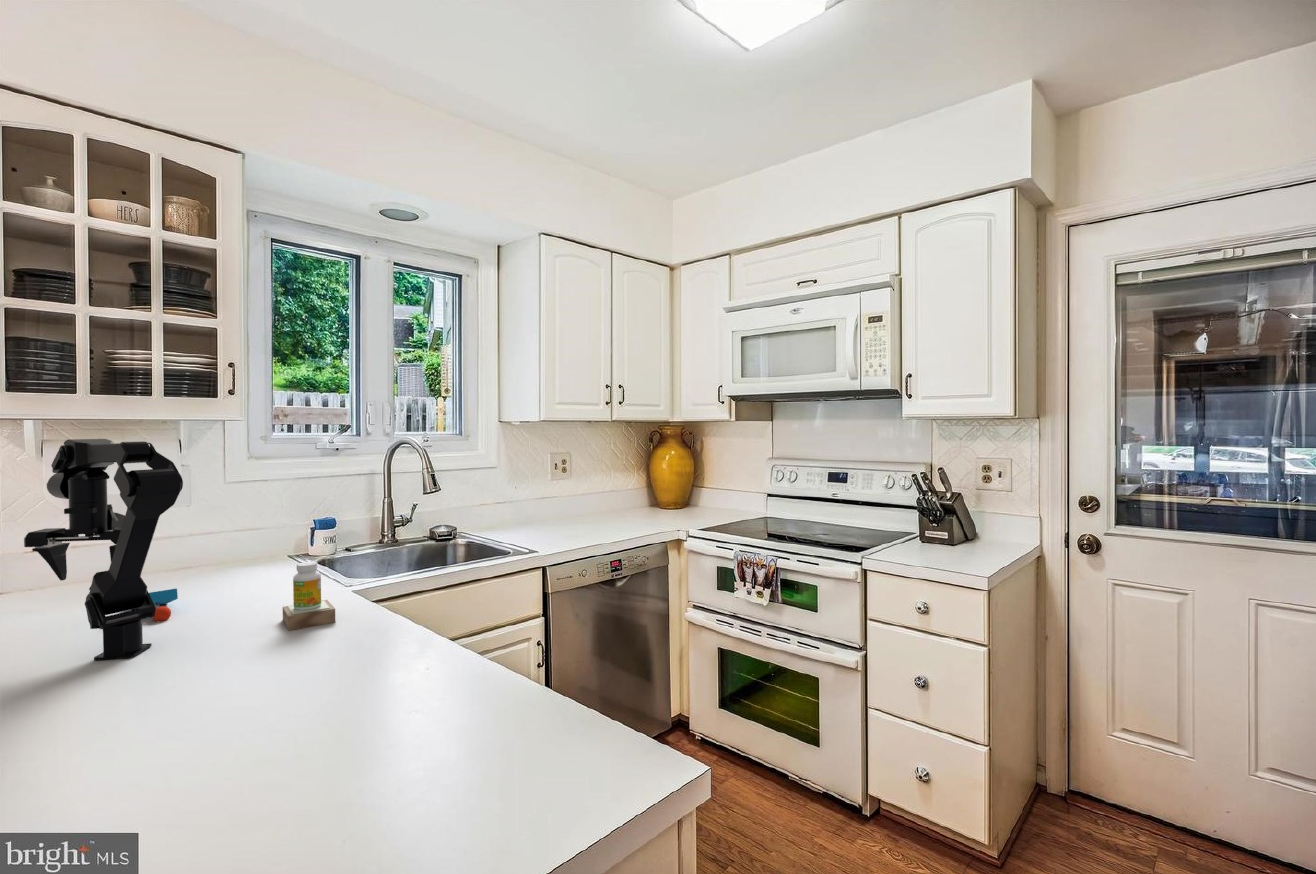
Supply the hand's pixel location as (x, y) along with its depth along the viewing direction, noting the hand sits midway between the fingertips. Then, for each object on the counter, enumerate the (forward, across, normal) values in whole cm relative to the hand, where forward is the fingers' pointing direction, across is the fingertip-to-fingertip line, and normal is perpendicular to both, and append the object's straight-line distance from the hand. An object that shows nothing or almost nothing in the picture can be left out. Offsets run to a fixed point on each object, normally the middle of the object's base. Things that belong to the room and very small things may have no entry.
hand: (90, 578), depth 126 cm
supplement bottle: (+10, -38, -6) cm, 40 cm away
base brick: (+13, -38, -6) cm, 41 cm away
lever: (+14, -1, -20) cm, 24 cm away
